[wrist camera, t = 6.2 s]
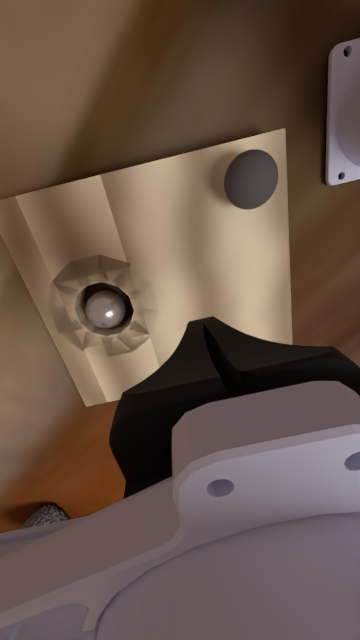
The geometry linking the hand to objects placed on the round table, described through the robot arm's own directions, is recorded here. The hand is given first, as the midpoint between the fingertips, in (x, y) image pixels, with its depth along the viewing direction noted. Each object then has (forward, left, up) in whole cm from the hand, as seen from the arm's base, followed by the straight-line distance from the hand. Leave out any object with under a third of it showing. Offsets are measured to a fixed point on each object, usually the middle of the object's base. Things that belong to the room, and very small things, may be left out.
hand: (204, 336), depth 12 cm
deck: (+2, 0, -10) cm, 10 cm away
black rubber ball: (-5, -6, -6) cm, 10 cm away
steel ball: (+7, 0, -9) cm, 11 cm away
